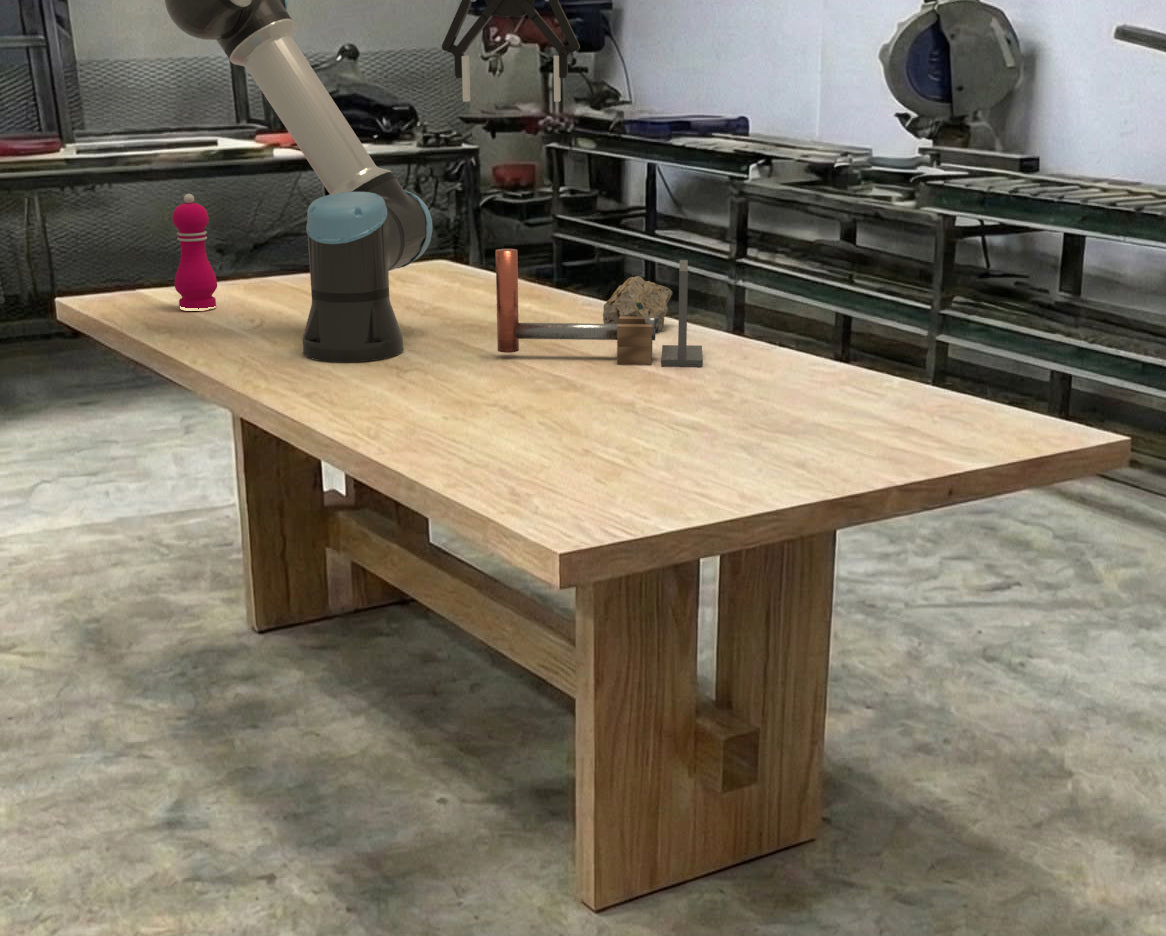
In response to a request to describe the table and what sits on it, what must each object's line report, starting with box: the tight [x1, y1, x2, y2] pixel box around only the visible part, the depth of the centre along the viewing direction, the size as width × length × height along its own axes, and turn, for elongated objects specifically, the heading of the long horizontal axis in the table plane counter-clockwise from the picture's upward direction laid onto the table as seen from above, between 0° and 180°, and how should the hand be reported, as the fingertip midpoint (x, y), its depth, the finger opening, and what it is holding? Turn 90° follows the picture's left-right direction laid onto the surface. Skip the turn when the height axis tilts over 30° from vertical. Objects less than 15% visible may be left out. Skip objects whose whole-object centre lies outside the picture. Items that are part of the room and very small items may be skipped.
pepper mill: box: [172, 193, 218, 309], centre depth 250 cm, size 7×7×20 cm
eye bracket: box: [660, 259, 704, 368], centre depth 212 cm, size 6×10×14 cm, turn 176°
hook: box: [495, 248, 660, 354], centre depth 213 cm, size 24×3×15 cm, turn 86°
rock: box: [602, 275, 673, 331], centre depth 233 cm, size 12×7×10 cm, turn 122°
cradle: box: [616, 316, 653, 366], centre depth 214 cm, size 5×8×6 cm, turn 176°
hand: (511, 101), depth 215 cm, fingers open, 13 cm apart
